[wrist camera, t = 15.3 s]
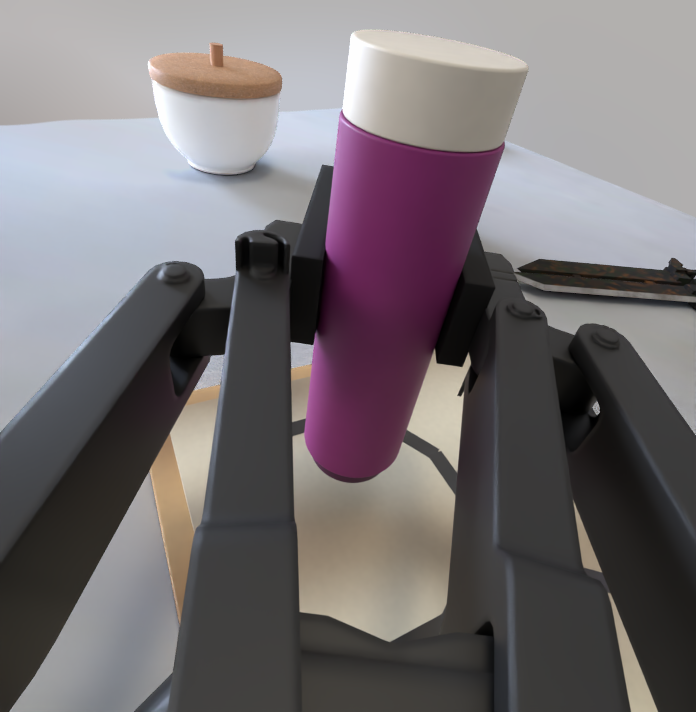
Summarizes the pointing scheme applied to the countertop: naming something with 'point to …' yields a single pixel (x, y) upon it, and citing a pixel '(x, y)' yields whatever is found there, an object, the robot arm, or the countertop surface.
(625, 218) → the countertop surface
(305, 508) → the drawing board
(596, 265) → the knife
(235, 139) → the lidded sugar bowl
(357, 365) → the dot marker
